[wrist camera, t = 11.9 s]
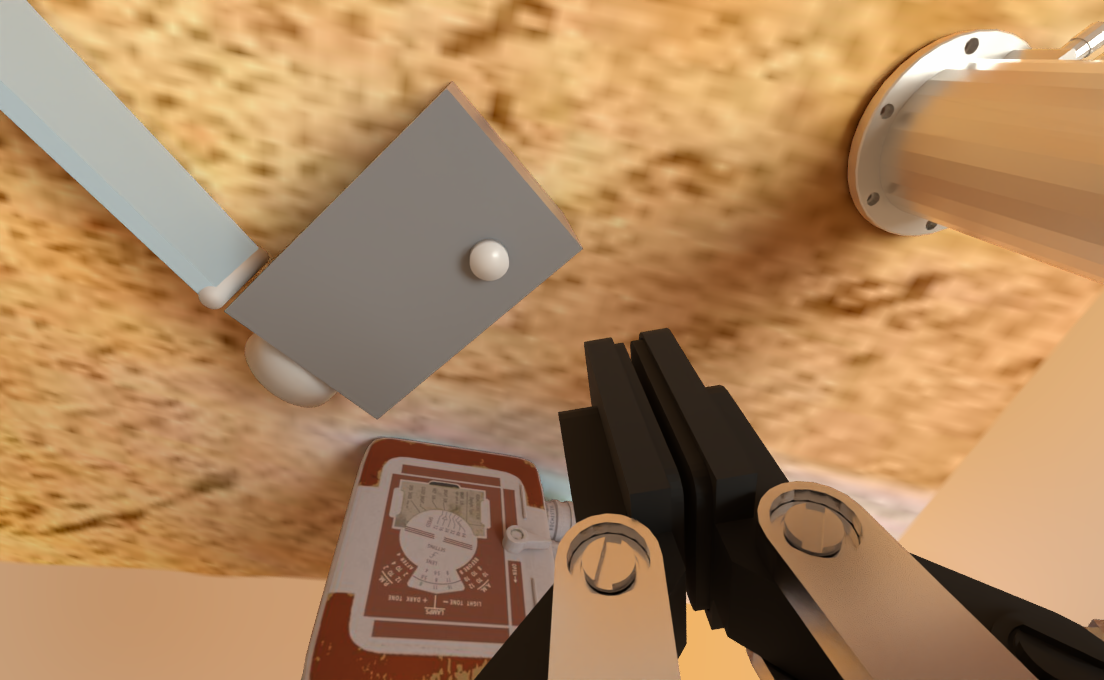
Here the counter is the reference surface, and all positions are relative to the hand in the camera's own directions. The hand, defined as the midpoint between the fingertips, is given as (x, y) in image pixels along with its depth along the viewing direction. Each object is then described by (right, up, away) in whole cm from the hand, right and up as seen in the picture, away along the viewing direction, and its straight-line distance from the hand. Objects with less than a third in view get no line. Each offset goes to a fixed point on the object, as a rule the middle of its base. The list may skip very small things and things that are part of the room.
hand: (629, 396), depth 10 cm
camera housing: (-11, +7, +22) cm, 26 cm away
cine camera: (-8, -11, +33) cm, 36 cm away
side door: (-25, +14, +16) cm, 33 cm away
